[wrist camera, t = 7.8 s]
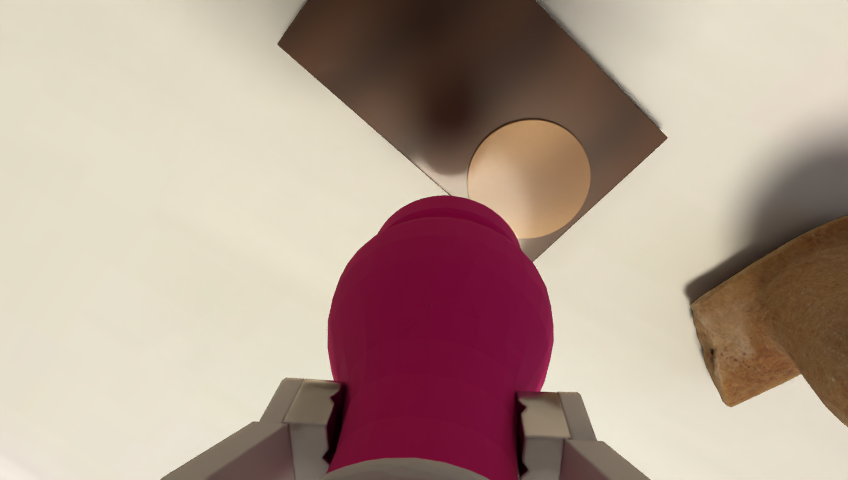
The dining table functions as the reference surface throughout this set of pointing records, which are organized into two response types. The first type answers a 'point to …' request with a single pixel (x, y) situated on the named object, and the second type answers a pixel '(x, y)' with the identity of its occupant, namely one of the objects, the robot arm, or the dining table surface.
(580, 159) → the serving board
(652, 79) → the dining table surface
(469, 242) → the pepper mill
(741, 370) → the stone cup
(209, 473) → the robot arm
